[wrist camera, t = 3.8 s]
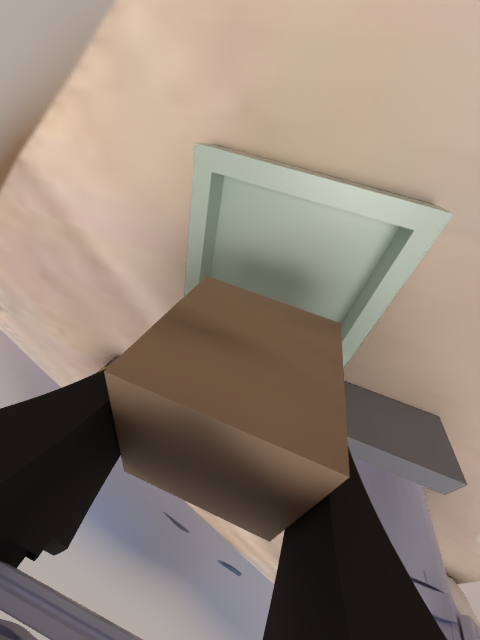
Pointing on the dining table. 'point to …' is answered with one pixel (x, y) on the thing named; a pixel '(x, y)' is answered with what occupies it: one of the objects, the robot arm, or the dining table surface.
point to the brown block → (235, 407)
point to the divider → (400, 440)
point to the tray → (304, 237)
